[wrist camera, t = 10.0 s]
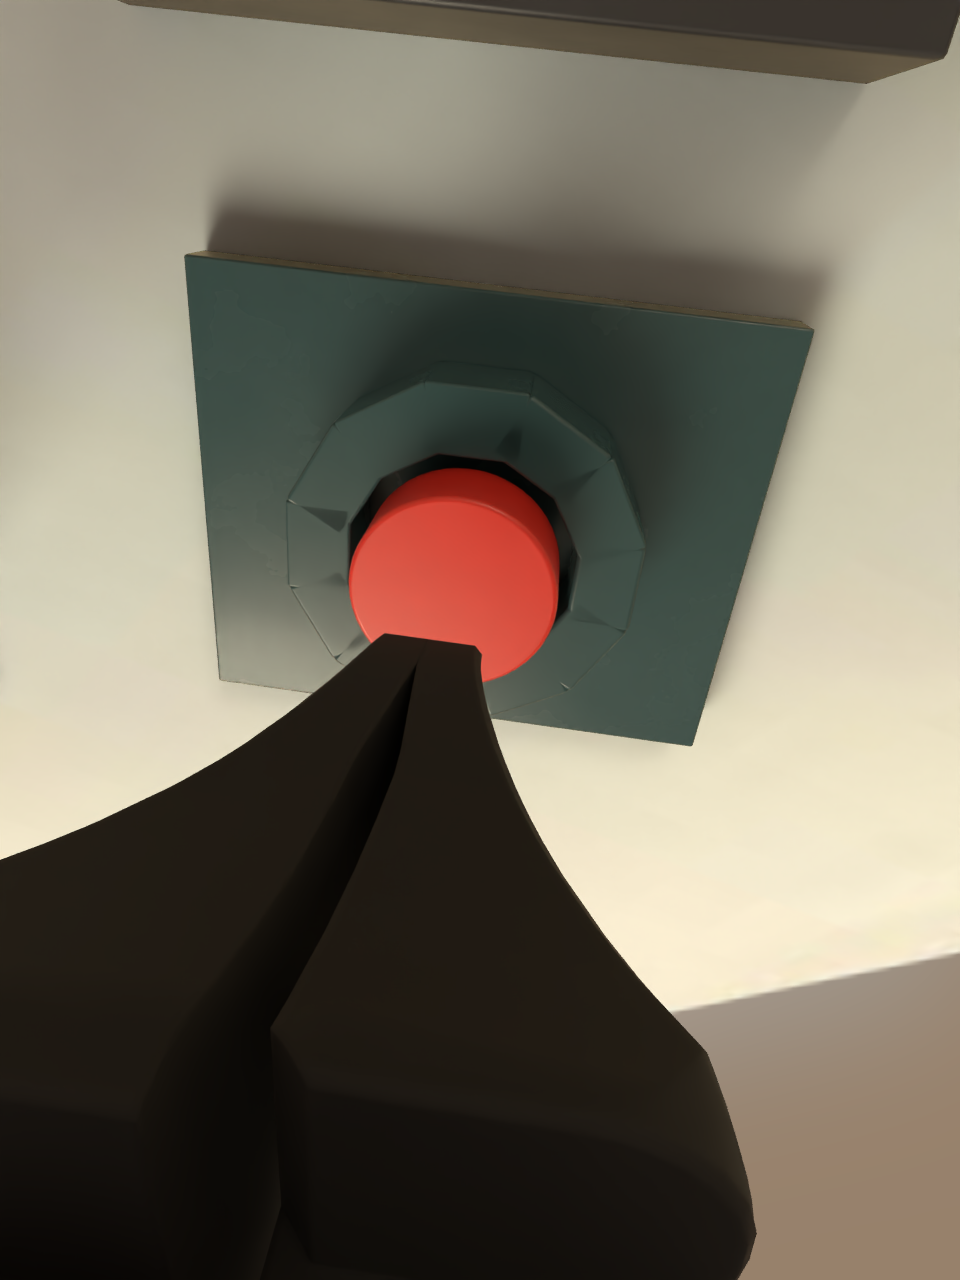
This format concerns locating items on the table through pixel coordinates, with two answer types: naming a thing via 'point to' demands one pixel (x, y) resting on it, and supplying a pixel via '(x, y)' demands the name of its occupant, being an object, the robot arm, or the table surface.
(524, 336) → the green button base
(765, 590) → the table surface
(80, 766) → the table surface
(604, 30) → the dial console
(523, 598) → the power button
